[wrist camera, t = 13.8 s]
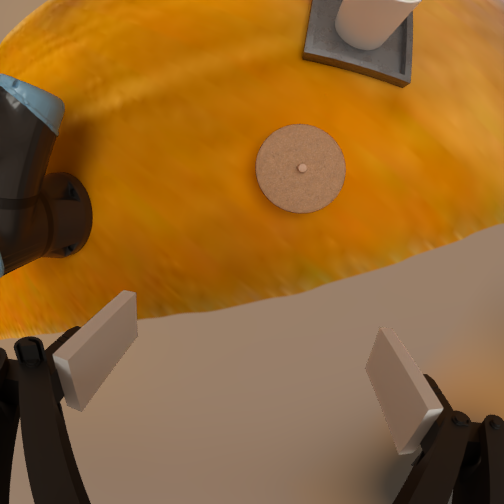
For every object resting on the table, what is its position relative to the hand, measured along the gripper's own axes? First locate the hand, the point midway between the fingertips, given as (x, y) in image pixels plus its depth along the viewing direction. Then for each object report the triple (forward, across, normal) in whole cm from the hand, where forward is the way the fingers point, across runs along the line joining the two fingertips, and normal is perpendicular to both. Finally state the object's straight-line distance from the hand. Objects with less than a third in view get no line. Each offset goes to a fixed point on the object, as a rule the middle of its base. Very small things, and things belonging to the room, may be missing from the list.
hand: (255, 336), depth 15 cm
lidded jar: (+30, +3, +9) cm, 32 cm away
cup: (+29, +10, +34) cm, 46 cm away
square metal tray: (+30, +10, +34) cm, 46 cm away
